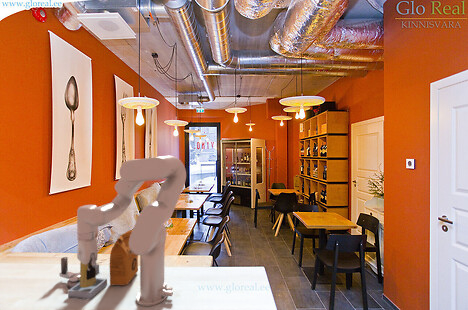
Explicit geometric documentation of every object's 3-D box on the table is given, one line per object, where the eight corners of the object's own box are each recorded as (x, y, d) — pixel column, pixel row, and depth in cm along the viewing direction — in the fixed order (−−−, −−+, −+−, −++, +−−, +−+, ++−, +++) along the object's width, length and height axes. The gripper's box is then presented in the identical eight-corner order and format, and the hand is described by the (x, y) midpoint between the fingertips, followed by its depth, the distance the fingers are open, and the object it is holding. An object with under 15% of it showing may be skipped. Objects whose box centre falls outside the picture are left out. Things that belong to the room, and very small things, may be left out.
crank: (87, 276, 103) (87, 259, 103) (75, 283, 98) (74, 265, 97) (68, 271, 107) (68, 255, 107) (55, 278, 102) (55, 260, 101)
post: (99, 272, 111) (99, 264, 110) (96, 274, 109) (96, 266, 109) (95, 272, 111) (95, 264, 111) (93, 274, 109) (92, 266, 109)
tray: (107, 285, 101) (106, 279, 101) (89, 300, 91) (89, 293, 91) (87, 282, 102) (87, 276, 102) (68, 297, 92) (68, 290, 92)
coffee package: (141, 272, 111) (141, 229, 110) (126, 288, 99) (126, 239, 98) (122, 271, 112) (122, 228, 111) (106, 286, 100) (105, 238, 99)
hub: (89, 280, 104) (89, 275, 104) (77, 289, 97) (77, 285, 97) (76, 278, 105) (76, 274, 105) (63, 287, 98) (63, 283, 98)
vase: (83, 289, 92) (83, 256, 92) (76, 284, 95) (76, 252, 95) (99, 282, 97) (98, 250, 97) (91, 277, 101) (91, 246, 100)
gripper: (71, 231, 98) (71, 271, 99) (85, 242, 87) (85, 287, 88) (90, 227, 104) (90, 265, 105) (105, 236, 93) (105, 279, 94)
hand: (88, 274), depth 96 cm, fingers closed on vase, 5 cm apart
